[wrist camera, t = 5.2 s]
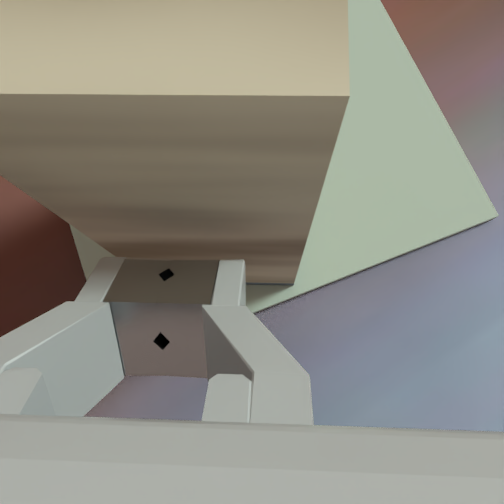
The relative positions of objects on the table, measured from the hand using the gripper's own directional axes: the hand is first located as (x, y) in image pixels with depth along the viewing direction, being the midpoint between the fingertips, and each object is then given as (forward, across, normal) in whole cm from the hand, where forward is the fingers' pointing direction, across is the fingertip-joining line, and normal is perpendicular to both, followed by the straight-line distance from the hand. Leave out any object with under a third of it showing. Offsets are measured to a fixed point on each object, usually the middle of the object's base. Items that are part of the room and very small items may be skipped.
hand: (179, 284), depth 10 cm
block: (+8, 0, +3) cm, 9 cm away
